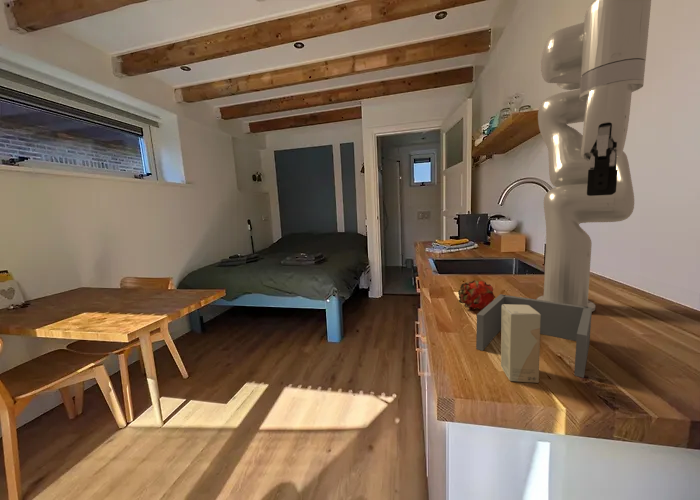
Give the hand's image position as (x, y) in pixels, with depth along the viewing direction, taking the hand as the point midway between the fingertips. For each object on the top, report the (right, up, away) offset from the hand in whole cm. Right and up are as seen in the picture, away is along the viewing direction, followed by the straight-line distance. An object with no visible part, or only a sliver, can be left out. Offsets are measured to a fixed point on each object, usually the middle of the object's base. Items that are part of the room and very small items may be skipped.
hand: (601, 194), depth 49 cm
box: (-14, -30, 0) cm, 33 cm away
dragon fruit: (-7, -25, +31) cm, 41 cm away
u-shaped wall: (-6, -28, +9) cm, 30 cm away
